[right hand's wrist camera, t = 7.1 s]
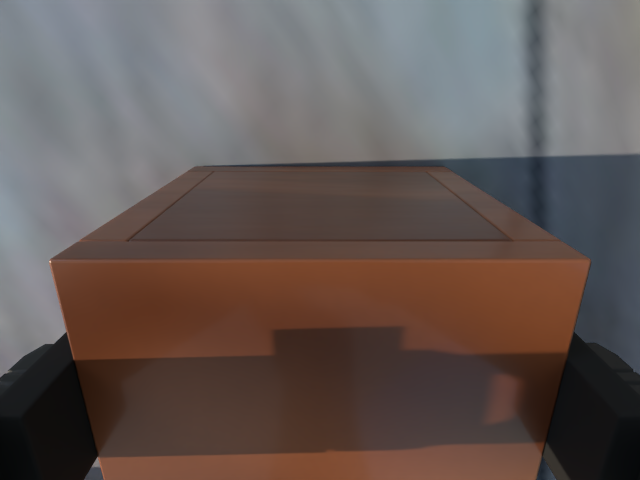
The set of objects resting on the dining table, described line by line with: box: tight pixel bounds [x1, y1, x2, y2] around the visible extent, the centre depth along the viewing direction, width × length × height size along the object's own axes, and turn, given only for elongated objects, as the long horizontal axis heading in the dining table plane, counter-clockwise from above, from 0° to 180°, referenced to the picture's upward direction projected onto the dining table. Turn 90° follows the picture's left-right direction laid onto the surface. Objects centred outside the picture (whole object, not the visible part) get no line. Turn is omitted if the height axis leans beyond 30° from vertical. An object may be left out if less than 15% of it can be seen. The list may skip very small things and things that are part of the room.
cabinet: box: [49, 167, 591, 480], centre depth 16 cm, size 19×10×10 cm, turn 0°
